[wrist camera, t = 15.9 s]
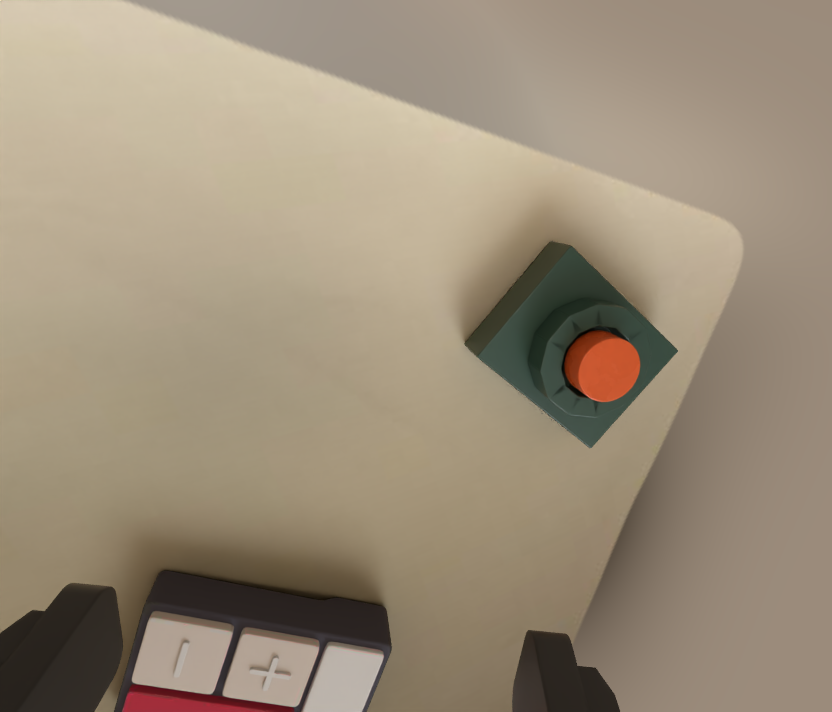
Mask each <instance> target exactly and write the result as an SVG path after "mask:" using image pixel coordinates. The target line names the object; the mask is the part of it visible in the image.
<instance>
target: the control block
mask: <svg viewBox="0 0 832 712" xmlns="http://www.w3.org/2000/svg"><path fill="white" fill-rule="evenodd" d="M595 330H603V331H607V332H610V333H612V334H614V335H616V336H618V337H620V338H622V339H624V340H626V341H628V342H630V343H631V344H632V345H633V346H634V347H635V349H636V350H637V352H638V355H639V358H640V371H639V375H638V378H637V380H636V382H635V384H634V385H633V387H632V388H631V389H630V390H629V391H628V392H627V393H626V394H625V395H623V396H622V397H620V398H618V399H616V400H613V401H608V402H599V401H595V400H592V399H590V398H589V397H587V396H586V395H585V394H583V393H582V392H581V391H579V390H578V389H577V388H575V387H574V386H573V385H572V384H571V383H570V382H569V381H568V379H567V377H566V374H565V369H564V363H565V357H566V354H567V352H568V350H569V348H570V346H571V345H572V344H573V342H574V341H575V340H576V339H578V338H579V337H580V336H582V335H583V334H585V333H588V332H591V331H595ZM465 346H466V347H467V348H468V349H469V350H470V351H471V352H473V353H474V354H475V355H476V356H477V357H478V358H479V359H480V360H481V361H483V362H484V363H485V364H486V365H488V366H489V367H490V368H491V369H492V370H494V371H495V372H496V373H497V374H499V375H500V376H501V377H502V378H504V379H505V380H506V381H507V382H509V383H510V384H511V385H512V386H513V387H515V388H516V389H517V390H518V391H520V392H521V393H522V394H523V395H525V396H526V397H527V398H528V399H530V400H531V401H532V402H533V403H534V404H536V405H537V406H538V407H539V408H541V409H542V410H543V411H544V412H546V413H547V414H548V415H549V416H551V417H552V418H553V419H554V420H556V421H557V422H558V423H559V424H560V425H562V426H563V427H564V428H565V429H567V430H568V431H569V432H570V433H572V434H573V435H574V436H575V437H577V438H578V439H579V440H580V441H581V442H583V443H584V444H585V445H586V446H588V447H589V448H592V447H593V445H594V444H595V443H596V442H597V441H598V440H599V439H600V438H601V436H602V435H603V434H604V433H605V432H606V431H607V430H608V429H609V428H610V426H611V425H612V424H613V423H614V422H615V421H616V420H617V419H618V417H619V416H620V415H621V414H622V413H623V412H624V411H625V410H626V409H627V407H628V406H629V405H630V404H631V403H632V402H633V401H634V400H635V399H636V397H637V396H638V395H639V394H640V393H641V392H642V391H643V390H644V388H645V387H646V386H647V385H648V384H649V383H650V382H651V381H652V380H653V378H654V377H655V376H656V375H657V374H658V373H659V372H660V371H661V369H662V368H663V367H664V366H665V365H666V364H667V363H668V362H669V361H670V359H671V358H672V357H673V356H674V355H675V354H676V353H677V352H678V350H677V349H676V348H675V347H674V346H673V345H672V344H671V343H670V342H669V341H668V340H667V339H666V338H665V337H664V336H663V335H662V334H661V333H660V332H659V331H658V330H657V329H656V328H655V327H654V326H653V325H652V324H651V323H650V322H649V321H648V320H647V319H646V318H645V317H644V316H643V315H641V314H640V313H639V312H638V311H637V310H636V309H635V308H634V307H633V306H632V305H631V304H630V303H629V302H628V301H627V300H626V299H625V298H624V297H623V296H622V295H621V294H620V293H619V292H618V291H617V290H616V289H615V288H614V287H613V286H612V285H611V284H610V283H609V282H608V281H607V280H606V279H605V278H604V277H603V276H602V275H601V274H600V273H599V272H598V271H597V270H596V269H595V268H594V267H593V266H592V265H591V264H590V263H589V262H587V261H586V260H585V259H584V258H583V257H582V256H581V255H580V254H579V253H578V252H577V251H576V250H575V249H574V248H573V247H572V246H570V245H565V244H561V243H557V242H553V241H551V242H550V243H549V244H548V245H547V246H546V247H545V249H544V250H543V251H542V252H541V253H540V255H539V256H538V257H537V258H536V259H535V261H534V262H533V263H532V264H531V265H530V266H529V268H528V269H527V270H526V271H525V272H524V274H523V275H522V276H521V277H520V278H519V280H518V281H517V282H516V283H515V284H514V285H513V287H512V288H511V289H510V290H509V291H508V293H507V294H506V295H505V296H504V297H503V299H502V300H501V301H500V302H499V303H498V305H497V306H496V307H495V308H494V309H493V310H492V312H491V313H490V314H489V315H488V316H487V318H486V319H485V320H484V321H483V322H482V324H481V325H480V326H479V327H478V328H477V329H476V331H475V332H474V333H473V334H472V335H471V337H470V338H469V339H468V340H467V341H466V343H465Z"/></svg>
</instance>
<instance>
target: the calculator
mask: <svg viewBox="0 0 832 712" xmlns="http://www.w3.org/2000/svg"><path fill="white" fill-rule="evenodd" d="M391 650H392V646H391V638H390V631H389V624H388V617H387V611H386V609H385V608H384V607H382V606H378V605H373V604H368V603H363V602H358V601H353V600H348V599H342V598H337V597H336V598H332V599H328V600H324V601H321V600H316V599H311V598H305V597H300V596H295V595H290V594H285V593H280V592H275V591H269V590H264V589H259V588H254V587H249V586H244V585H238V584H233V583H228V582H223V581H218V580H213V579H208V578H202V577H197V576H192V575H187V574H182V573H177V572H172V571H162V572H160V573H159V574H158V576H157V578H156V580H155V583H154V585H153V587H152V589H151V592H150V594H149V596H148V598H147V600H146V603H145V605H144V608H143V611H142V615H141V618H140V622H139V625H138V629H137V632H136V636H135V639H134V643H133V646H132V650H131V654H130V657H129V661H128V664H127V668H126V671H125V675H124V678H123V682H122V685H121V689H120V692H119V696H118V699H117V703H116V706H115V710H114V712H367V709H368V707H369V705H370V702H371V700H372V697H373V695H374V692H375V690H376V687H377V685H378V682H379V680H380V678H381V675H382V673H383V670H384V668H385V665H386V663H387V660H388V658H389V655H390V653H391Z"/></svg>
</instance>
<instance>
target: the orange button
mask: <svg viewBox="0 0 832 712" xmlns="http://www.w3.org/2000/svg"><path fill="white" fill-rule="evenodd" d="M564 369H565V374H566V377H567V379H568V381H569V382H570V383H571V384H572V385H573V386H574V387H575V388H577V389H578V390H579V391H581V392H582V393H583V394H585V395H586V396H587V397H589V398H590V399H592V400H595V401H599V402H608V401H613V400H616V399H618V398H620V397H622V396H623V395H625V394H626V393H627V392H628V391H629V390H630V389H631V388H632V387H633V385H634V384H635V382H636V380H637V378H638V375H639V371H640V358H639V355H638V352H637V350H636V349H635V347H634V346H633V345H632V344H631V343H630V342H628V341H626V340H624V339H622V338H620V337H618V336H616V335H614V334H612V333H610V332H607V331H603V330H595V331H591V332H588V333H585V334H583V335H582V336H580V337H579V338H578V339H576V340H575V341H574V342H573V344H572V345H571V346H570V348H569V350H568V352H567V354H566V357H565V363H564Z"/></svg>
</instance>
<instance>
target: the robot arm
mask: <svg viewBox="0 0 832 712" xmlns="http://www.w3.org/2000/svg"><path fill="white" fill-rule="evenodd" d="M122 650H123V639H122V632H121V625H120V618H119V611H118V604H117V597H116V592H115V589H114V588H113V587H109V586H99V585H89V584H79V583H71V584H69V585H67V586H66V587H64V588H63V589H62V591H61V592H60V593H59V594H58V595H57V597H56V598H55V599H54V600H53V602H52V603H51V604H50V606H49V607H48V608H47V609H46V611H36V610H32V611H30V612H29V613H28V614H26V615H25V616H23V617H22V618H21V619H19V620H18V621H16V622H15V623H14V624H12V625H11V626H10V627H8V628H7V629H5V630H4V631H3V632H1V633H0V712H94V711H95V709H96V707H97V706H98V704H99V702H100V701H101V699H102V697H103V695H104V694H105V692H106V690H107V688H108V687H109V685H110V683H111V682H112V680H113V678H114V676H115V674H116V671H117V669H118V666H119V663H120V660H121V656H122ZM512 709H513V712H620V710H619V707H618V703H617V700H616V697H615V695H614V693H613V692H612V690H611V689H610V687H609V686H608V685H607V683H606V682H605V680H604V679H603V678H602V676H601V675H600V673H599V672H598V670H597V669H596V668H592V667H582V666H577V663H576V659H575V655H574V651H573V647H572V644H571V641H570V638H569V636H568V635H567V634H563V633H553V632H543V631H533V630H528V631H527V633H526V636H525V640H524V644H523V648H522V652H521V656H520V660H519V664H518V668H517V672H516V676H515V680H514V686H513V698H512Z"/></svg>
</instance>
